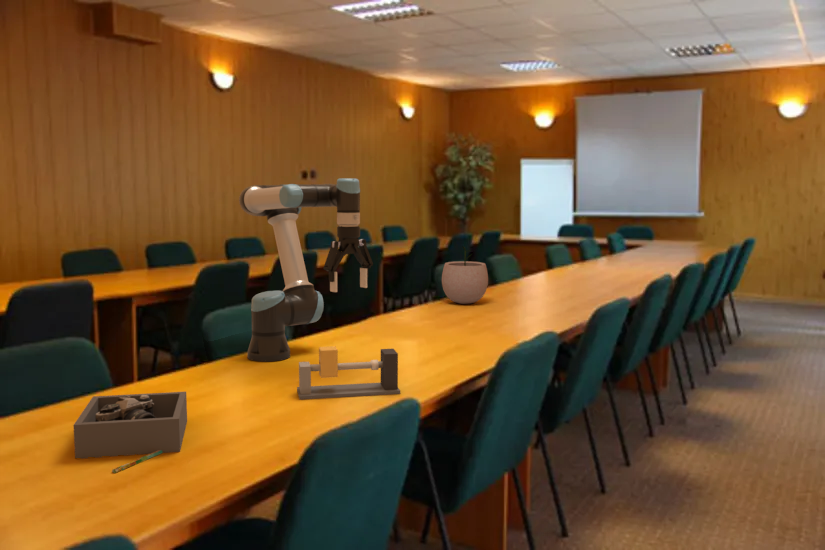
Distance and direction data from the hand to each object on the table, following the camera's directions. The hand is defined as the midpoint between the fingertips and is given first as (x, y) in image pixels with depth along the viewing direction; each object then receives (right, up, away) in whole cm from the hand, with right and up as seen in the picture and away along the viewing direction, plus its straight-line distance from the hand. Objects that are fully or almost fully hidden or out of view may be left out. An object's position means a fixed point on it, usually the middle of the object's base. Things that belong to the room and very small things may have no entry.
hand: (349, 289), depth 249 cm
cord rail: (+2, -31, -23) cm, 38 cm away
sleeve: (-4, -25, -25) cm, 35 cm away
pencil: (-40, -38, -77) cm, 95 cm away
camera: (-48, -36, -63) cm, 87 cm away
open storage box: (-47, -36, -64) cm, 87 cm away
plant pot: (+48, -10, +140) cm, 149 cm away
